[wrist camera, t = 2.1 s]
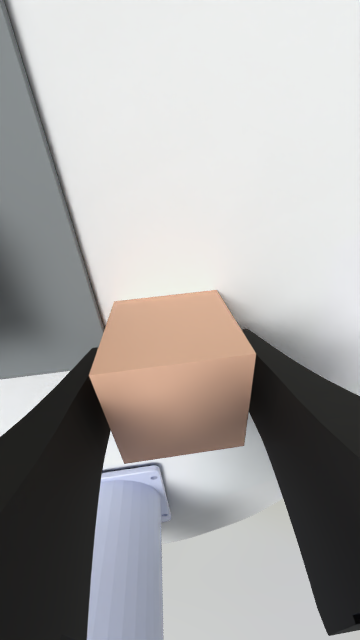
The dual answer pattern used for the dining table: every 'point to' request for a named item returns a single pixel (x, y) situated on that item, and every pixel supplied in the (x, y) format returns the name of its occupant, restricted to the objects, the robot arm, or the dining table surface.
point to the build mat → (36, 240)
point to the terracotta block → (174, 376)
